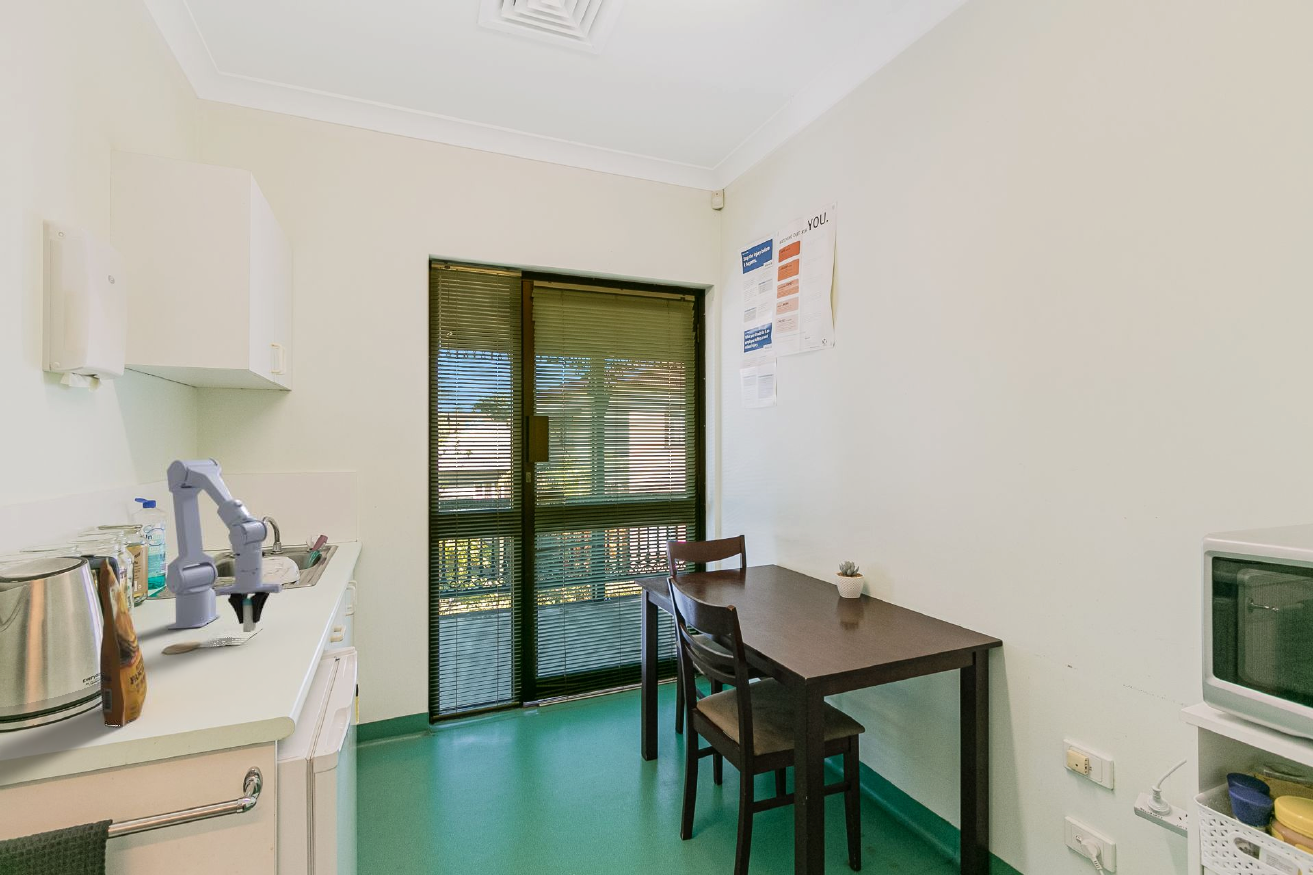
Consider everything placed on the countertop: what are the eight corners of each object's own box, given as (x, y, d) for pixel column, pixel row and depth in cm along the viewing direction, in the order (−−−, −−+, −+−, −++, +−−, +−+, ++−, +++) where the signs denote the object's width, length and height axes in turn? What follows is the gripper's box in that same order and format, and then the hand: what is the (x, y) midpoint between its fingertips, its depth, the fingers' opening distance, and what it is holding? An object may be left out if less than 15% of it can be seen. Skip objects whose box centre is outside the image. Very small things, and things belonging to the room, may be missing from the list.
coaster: (174, 644, 144) (174, 642, 144) (207, 642, 145) (207, 640, 145) (156, 655, 137) (156, 653, 137) (190, 652, 138) (190, 651, 138)
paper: (224, 631, 153) (224, 630, 153) (263, 629, 155) (263, 628, 155) (197, 648, 141) (197, 647, 141) (239, 645, 143) (239, 644, 143)
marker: (246, 629, 153) (245, 598, 153) (257, 628, 153) (257, 597, 153) (241, 632, 150) (240, 601, 150) (252, 631, 151) (252, 600, 151)
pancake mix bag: (85, 738, 100) (83, 571, 99) (105, 697, 115) (102, 553, 115) (139, 726, 103) (136, 566, 103) (150, 688, 119) (148, 549, 119)
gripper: (208, 574, 146) (209, 629, 147) (273, 571, 149) (273, 625, 149) (223, 567, 153) (224, 620, 154) (285, 565, 156) (285, 616, 156)
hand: (249, 622), depth 152 cm, fingers closed on marker, 3 cm apart
